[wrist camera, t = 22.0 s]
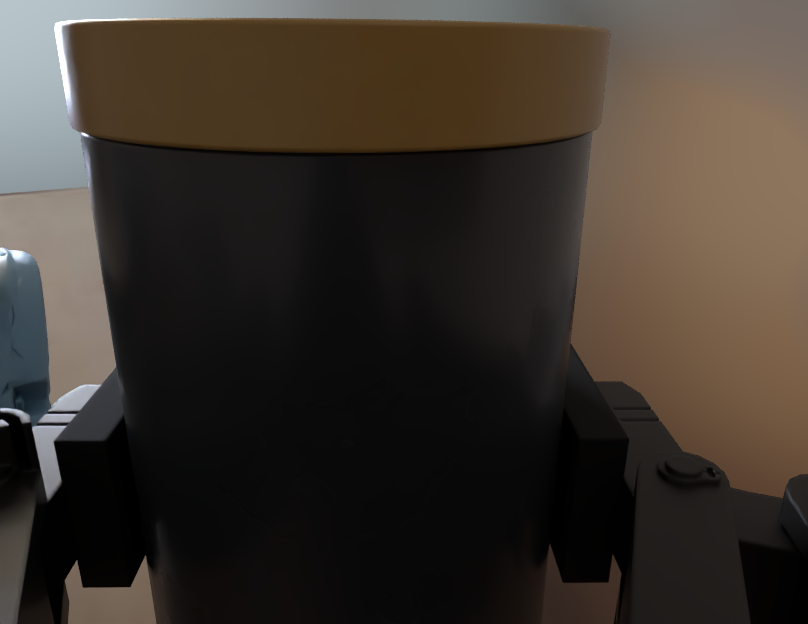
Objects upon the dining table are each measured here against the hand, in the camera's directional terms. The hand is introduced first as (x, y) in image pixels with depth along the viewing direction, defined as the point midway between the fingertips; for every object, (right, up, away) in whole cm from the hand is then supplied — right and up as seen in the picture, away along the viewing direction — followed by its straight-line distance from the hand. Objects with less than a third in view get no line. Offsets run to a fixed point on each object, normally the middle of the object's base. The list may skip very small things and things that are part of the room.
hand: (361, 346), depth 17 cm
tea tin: (0, -11, -1) cm, 11 cm away
